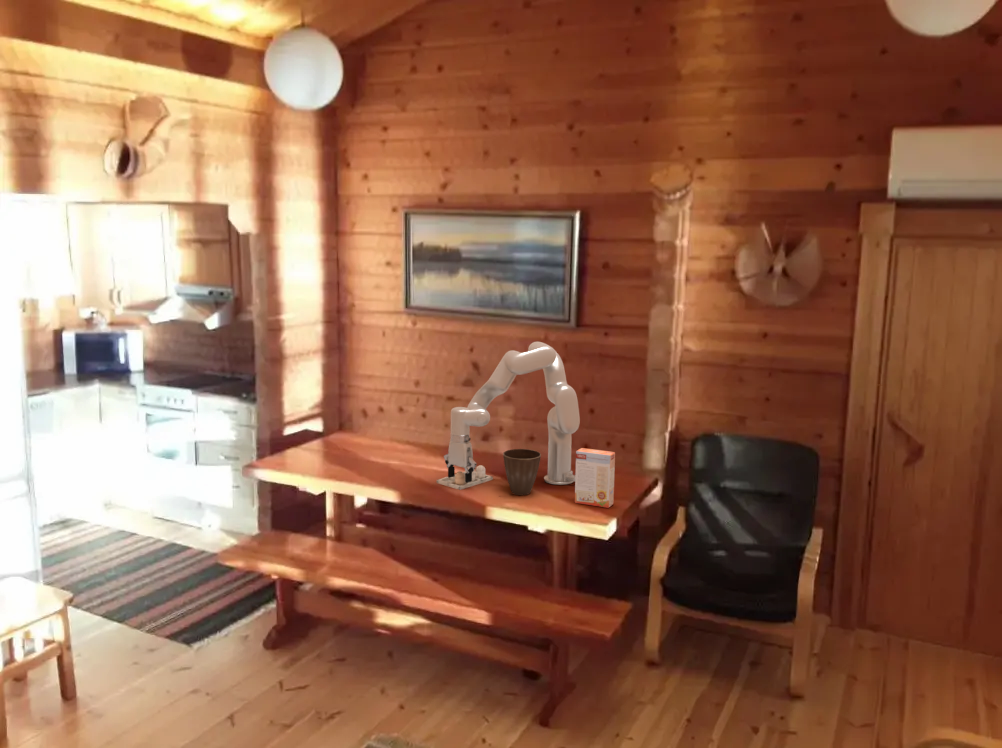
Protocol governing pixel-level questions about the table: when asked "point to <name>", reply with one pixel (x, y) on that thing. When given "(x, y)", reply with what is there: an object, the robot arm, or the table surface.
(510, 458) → the plant pot
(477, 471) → the cream egg
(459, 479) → the tan egg
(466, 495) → the table surface
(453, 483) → the white egg tray
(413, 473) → the table surface
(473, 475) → the cream egg
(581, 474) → the cracker box
